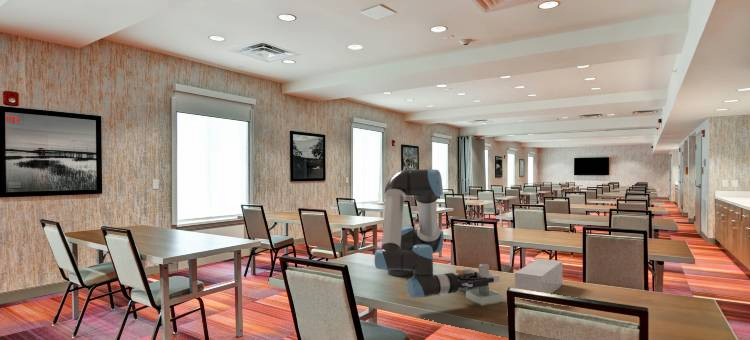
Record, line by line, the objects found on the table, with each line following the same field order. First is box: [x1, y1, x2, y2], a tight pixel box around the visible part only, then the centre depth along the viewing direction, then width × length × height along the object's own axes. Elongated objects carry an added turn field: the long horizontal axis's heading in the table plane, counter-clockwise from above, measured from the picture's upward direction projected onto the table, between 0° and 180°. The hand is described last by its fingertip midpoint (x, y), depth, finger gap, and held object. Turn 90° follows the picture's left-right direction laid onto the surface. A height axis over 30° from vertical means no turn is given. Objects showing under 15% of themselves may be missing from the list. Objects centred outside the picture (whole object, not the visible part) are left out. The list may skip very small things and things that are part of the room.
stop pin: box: [478, 263, 490, 296], centre depth 175 cm, size 4×4×12 cm
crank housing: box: [455, 268, 479, 293], centre depth 190 cm, size 7×8×9 cm
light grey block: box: [514, 258, 564, 294], centre depth 187 cm, size 32×11×11 cm, turn 143°
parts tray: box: [465, 288, 504, 307], centre depth 175 cm, size 10×10×3 cm
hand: (494, 277), depth 177 cm, fingers closed on stop pin, 4 cm apart
